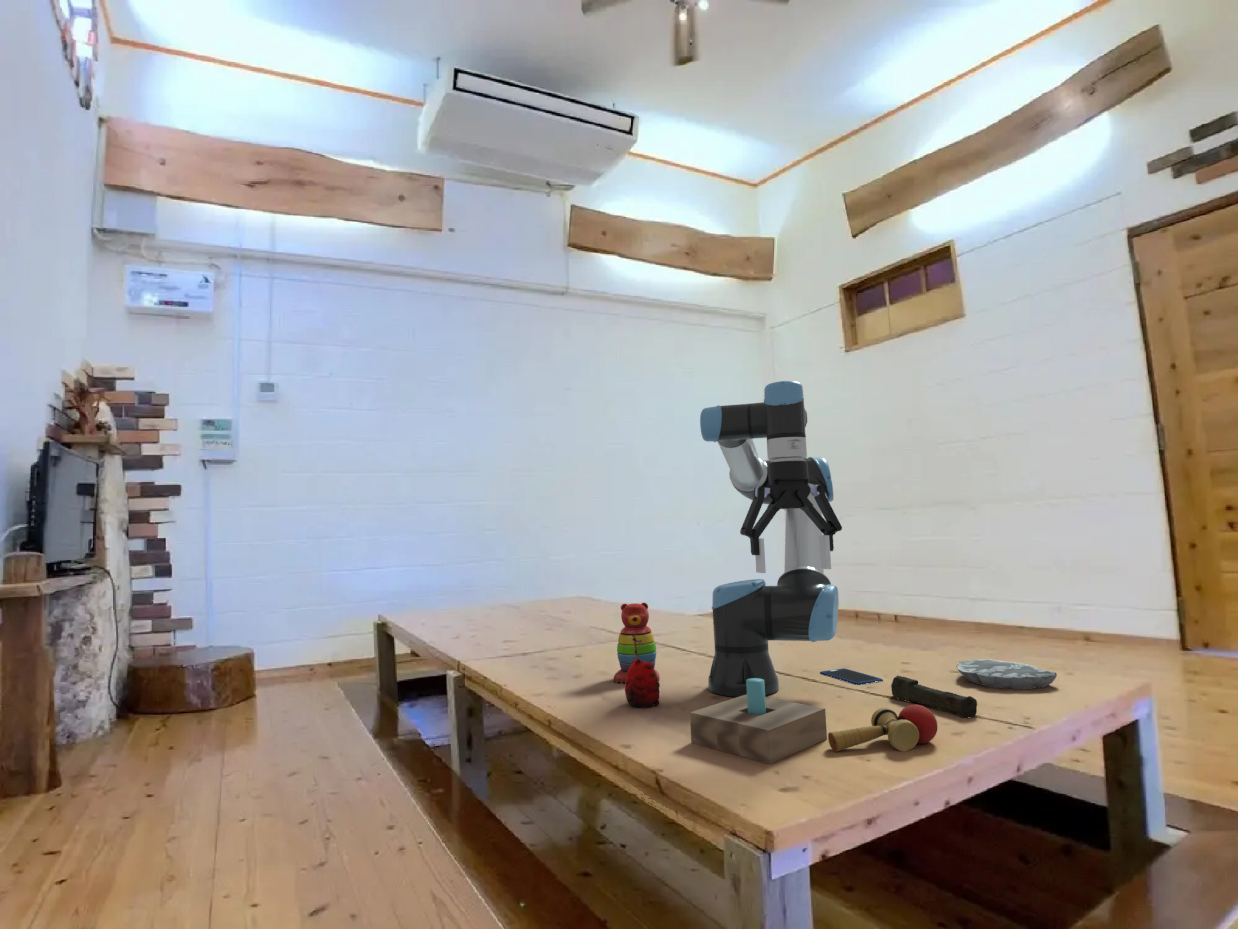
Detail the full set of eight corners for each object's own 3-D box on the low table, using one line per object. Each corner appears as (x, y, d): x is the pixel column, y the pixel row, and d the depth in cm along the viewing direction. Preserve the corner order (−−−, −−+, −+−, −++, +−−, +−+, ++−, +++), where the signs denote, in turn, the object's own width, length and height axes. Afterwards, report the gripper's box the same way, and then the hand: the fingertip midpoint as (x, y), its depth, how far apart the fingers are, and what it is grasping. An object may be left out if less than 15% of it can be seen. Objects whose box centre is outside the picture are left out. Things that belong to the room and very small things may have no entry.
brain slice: (935, 679, 158) (934, 665, 159) (989, 670, 165) (988, 657, 165) (1015, 698, 141) (1013, 682, 141) (1072, 687, 147) (1071, 672, 147)
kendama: (850, 769, 108) (953, 741, 112) (838, 726, 110) (941, 700, 113) (828, 762, 116) (926, 736, 119) (817, 722, 117) (914, 697, 121)
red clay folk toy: (667, 703, 146) (664, 629, 147) (645, 711, 140) (642, 634, 141) (639, 698, 151) (636, 626, 152) (617, 706, 145) (614, 631, 147)
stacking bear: (612, 683, 165) (609, 606, 167) (618, 674, 175) (615, 601, 177) (658, 683, 164) (655, 605, 165) (661, 673, 174) (658, 600, 175)
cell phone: (844, 671, 170) (844, 668, 170) (884, 682, 157) (884, 679, 157) (818, 674, 168) (818, 671, 168) (857, 687, 155) (857, 683, 155)
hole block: (691, 742, 120) (689, 712, 120) (749, 721, 131) (748, 693, 131) (770, 764, 108) (768, 730, 108) (827, 739, 119) (825, 708, 119)
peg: (745, 741, 119) (742, 680, 120) (756, 737, 121) (753, 677, 122) (760, 745, 117) (757, 683, 118) (771, 740, 119) (767, 680, 120)
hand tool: (980, 718, 128) (978, 692, 129) (963, 721, 127) (961, 694, 127) (903, 696, 146) (901, 672, 146) (887, 698, 144) (886, 674, 145)
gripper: (734, 460, 132) (740, 575, 131) (855, 457, 138) (862, 568, 136) (720, 464, 140) (725, 573, 138) (835, 461, 145) (842, 566, 144)
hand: (793, 571), depth 137 cm, fingers open, 13 cm apart
